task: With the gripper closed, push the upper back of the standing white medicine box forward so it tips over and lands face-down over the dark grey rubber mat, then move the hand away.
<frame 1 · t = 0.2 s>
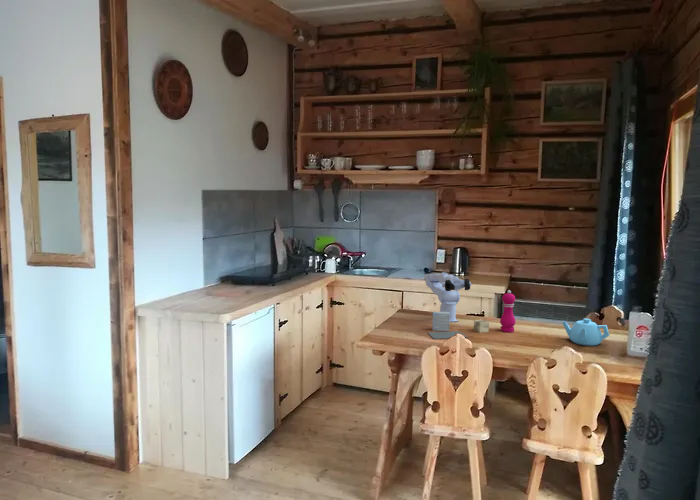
hand: (461, 287, 264), 21 cm above the table, tool horizontal, fingers open, 7 cm apart
pepper mill: (507, 331, 266), on the table
mat: (447, 335, 257), on the table
medicine box: (440, 330, 266), on the table
teapot: (584, 342, 248), on the table
beech block: (481, 331, 265), on the table
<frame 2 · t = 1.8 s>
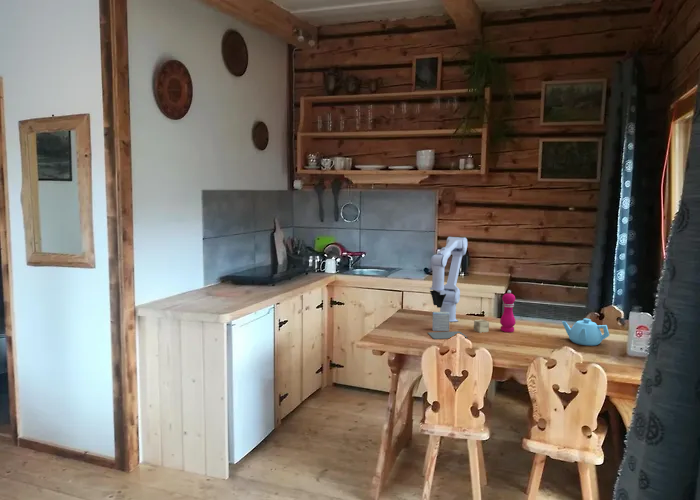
hand: (437, 306, 271), 10 cm above the table, tool pointing down, fingers open, 5 cm apart
nothing on the table moved.
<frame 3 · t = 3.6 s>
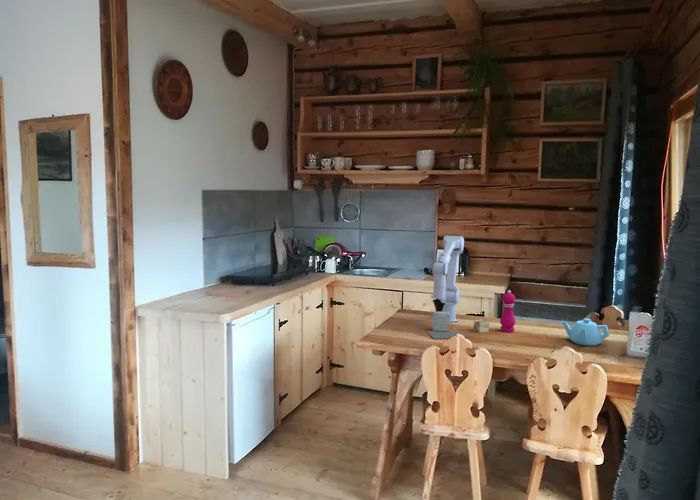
hand: (438, 314, 269), 7 cm above the table, tool pointing down, fingers closed
medicine box: (440, 330, 266), on the table, touching gripper
everything else where it was.
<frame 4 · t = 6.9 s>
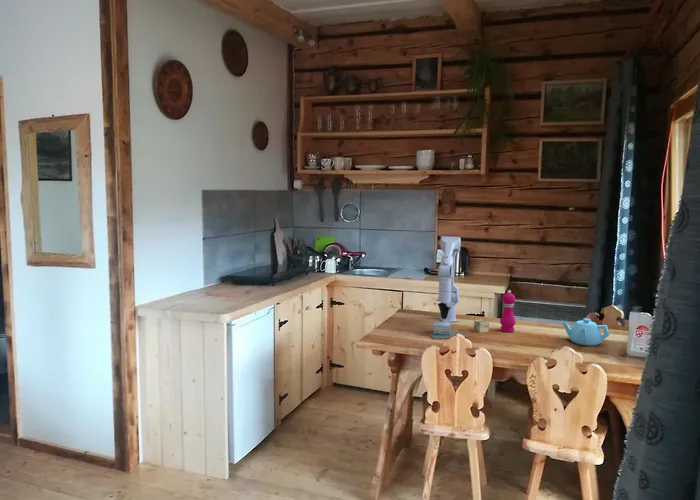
hand: (444, 318, 261), 7 cm above the table, tool pointing down, fingers closed
medicine box: (440, 325, 264), point 3 cm above the table, touching mat
everything else where it was.
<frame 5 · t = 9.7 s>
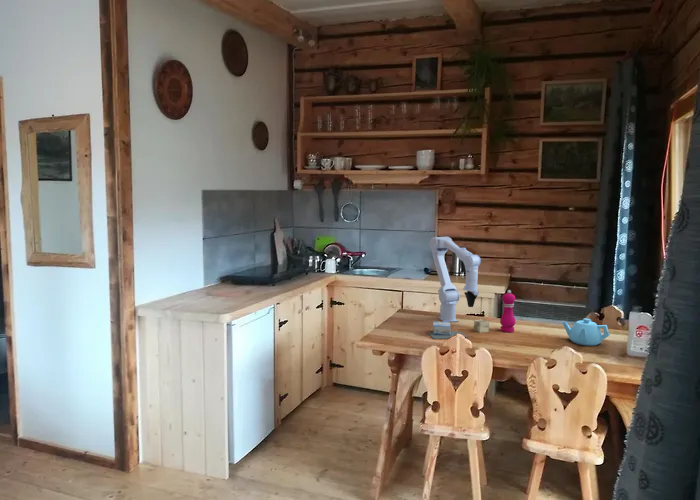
hand: (470, 306, 270), 10 cm above the table, tool pointing down, fingers closed
nothing on the table moved.
at the end: medicine box tilted 89°; medicine box inside the target area (7.1 cm from its centre), point 2.5 cm above the table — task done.
